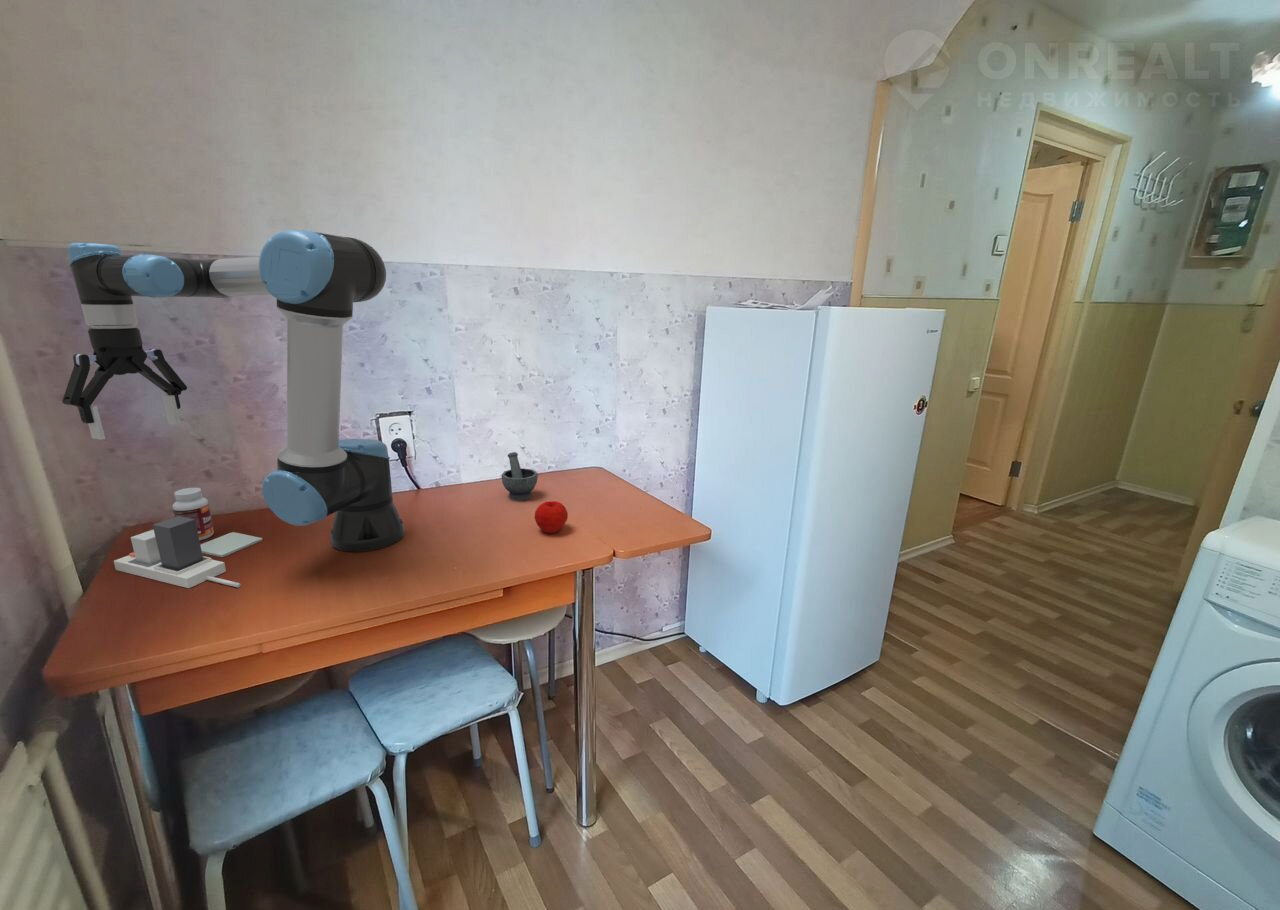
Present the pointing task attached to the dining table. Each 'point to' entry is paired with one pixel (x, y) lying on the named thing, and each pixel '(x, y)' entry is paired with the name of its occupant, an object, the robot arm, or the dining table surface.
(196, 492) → the pill bottle
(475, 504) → the dining table surface
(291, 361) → the robot arm
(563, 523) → the apple
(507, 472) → the mortar and pestle
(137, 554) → the strip
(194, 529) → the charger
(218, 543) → the coaster
